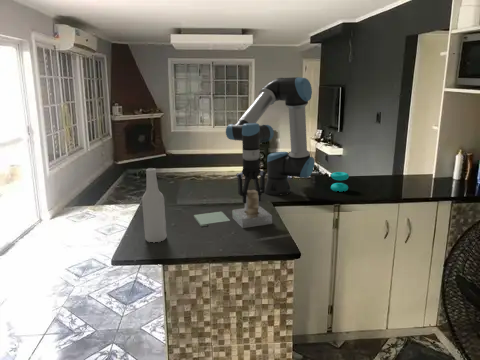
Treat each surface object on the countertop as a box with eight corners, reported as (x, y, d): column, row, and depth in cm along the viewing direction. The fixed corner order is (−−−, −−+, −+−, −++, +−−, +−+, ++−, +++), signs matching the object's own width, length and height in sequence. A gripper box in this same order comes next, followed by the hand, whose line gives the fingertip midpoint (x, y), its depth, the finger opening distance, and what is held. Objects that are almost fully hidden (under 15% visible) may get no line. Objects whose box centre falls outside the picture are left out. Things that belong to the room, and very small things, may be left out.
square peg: (254, 218, 188) (254, 189, 184) (258, 221, 184) (257, 192, 180) (245, 219, 186) (245, 190, 183) (249, 222, 182) (248, 193, 179)
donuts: (329, 171, 238) (346, 171, 238) (329, 187, 241) (345, 187, 241) (333, 175, 229) (350, 175, 228) (332, 192, 231) (350, 192, 231)
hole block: (260, 216, 194) (260, 206, 193) (272, 225, 181) (272, 215, 180) (232, 219, 189) (232, 209, 188) (242, 230, 177) (242, 219, 175)
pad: (221, 213, 199) (221, 211, 199) (230, 222, 186) (230, 220, 186) (193, 217, 194) (193, 215, 194) (200, 226, 182) (200, 224, 181)
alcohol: (168, 234, 173) (163, 166, 166) (165, 242, 164) (160, 171, 157) (147, 235, 173) (141, 166, 165) (143, 243, 164) (137, 171, 157)
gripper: (235, 161, 172) (236, 213, 177) (272, 158, 177) (272, 209, 183) (229, 158, 179) (230, 208, 184) (266, 155, 184) (266, 204, 190)
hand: (251, 208), depth 184 cm, fingers closed on square peg, 4 cm apart
